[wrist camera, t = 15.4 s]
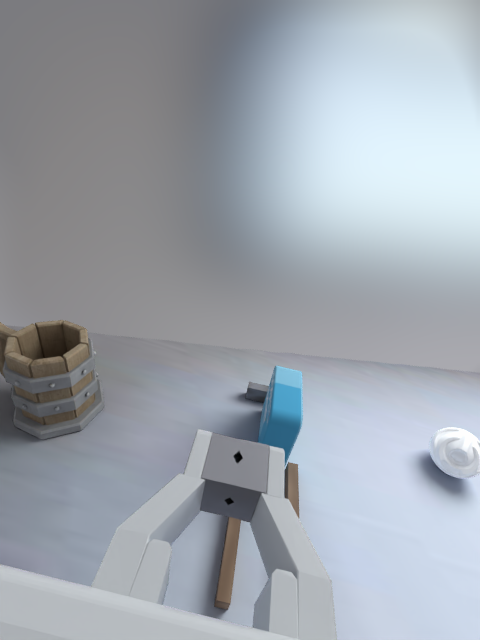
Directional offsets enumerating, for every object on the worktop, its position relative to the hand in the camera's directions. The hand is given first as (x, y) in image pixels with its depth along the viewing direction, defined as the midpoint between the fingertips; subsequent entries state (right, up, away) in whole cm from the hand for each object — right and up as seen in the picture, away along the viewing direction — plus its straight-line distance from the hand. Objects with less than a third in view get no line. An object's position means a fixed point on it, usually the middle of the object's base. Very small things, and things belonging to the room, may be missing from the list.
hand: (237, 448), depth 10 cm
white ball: (+37, -22, +44) cm, 61 cm away
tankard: (-34, -9, +42) cm, 54 cm away
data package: (+5, -16, +43) cm, 46 cm away
